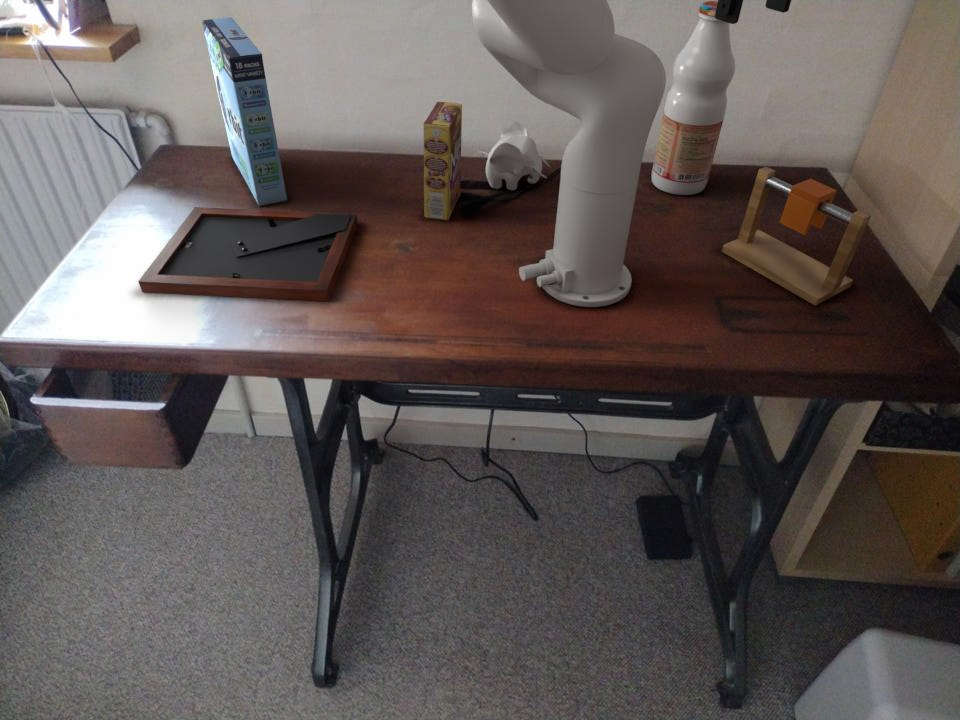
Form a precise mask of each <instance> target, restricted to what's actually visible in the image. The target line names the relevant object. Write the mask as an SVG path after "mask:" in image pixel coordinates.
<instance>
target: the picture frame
mask: <svg viewBox="0 0 960 720" xmlns="http://www.w3.org/2000/svg"><path fill="white" fill-rule="evenodd" d="M358 223H359V222H358V215H357V213H337V212H317V211H315V212H314V211H290V210H270V209H268V210H267V209H247V208H245V209H244V208H227V207H225V208H223V207H204V206H203V207H202V206H201V207H199V206H195V207H193V209H192V210H191V212H190V213H189V214H188V216H187V217H186V218H185V220H184V221H182V223H181V224H180V226H179V227H178V229H177V230H176V231H175V232H174V234H173V235H172V237H171V238H170V239H169V240H168V242H167V243H166V245H165V246H164V247H163V248H162V249H161V251H160V252H159V254H157V256H156V258H154V260H153V261H152V263H151V264H150V265H149V266H148V268H147V269H146V270H145V271H144V273H143V275H142V276H141V277H140V279H138V284H139V287H140V290H141V292H142V293H152V294H153V293H154V294H169V295H170V294H171V295H172V294H174V295H192V296H211V297H212V296H213V297H232V298H233V297H236V298H253V299H254V298H255V299H276V300H278V299H279V300H293V301H295V300H296V301H315V302H316V301H317V302H329V301H330V298H331V295H332V293H333V291H334V288H335V285H336V283H337V280H338V277H339V275H340V272H341V270H342V267H343V264H344V261H345V259H346V256H347V254H348V251H349V249H350V246H351V243H352V240H353V238H354V235H355V233H356V230H357V228H358V225H359V224H358Z"/></svg>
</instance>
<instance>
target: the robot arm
mask: <svg viewBox="0 0 960 720" xmlns="http://www.w3.org/2000/svg"><path fill="white" fill-rule="evenodd" d="M717 1H718V4H717V8H716V12H715V18H716V19H718V20H721V21H724V22H727V23H729V25H730V24H731V25H735V24H737V23H738V22H739V19H740V15H741V12H742V8H743V7H742V6H743V3H744V0H717ZM791 4H792V0H766V1H765V8H766V9H769V10H772V11H776V12H779V13H783V14H784V13H787V12H789V10H790V7H791ZM471 19H472V24H473V27H474V31H475V33H476V35H477V37H478V39H479V41H480V44H481V45H482V46H483V47H484V48H485V50H487V52H488V53H489V54H490V55H491V56H492V57H493V58H494V59H495V60H496V61H497V62H498V63H499V64H500V66H502V67H503V68H504V69H505V70H506V71H507V72H508V73H509V74H510V75H511V76H512V77H513V78H514V79H515V80H516V81H517V83H518V84H520V86H522V87H523V88H524V89H525V90H526V91H527V92H528V93H530V94H531V95H532V96H533V97H535V98H537V99H538V100H539V101H542V102H544V103H545V104H547V105H549V106H552V107H554V108H556V109H558V110H561V111H563V112H565V113H566V114H569V115H570V116H572V117H574V118H576V119H578V120H579V122H580V127H579V130H578V131H577V133H576V134H575V135H574V136H573V138H572V139H571V140H570V141H569V143H568V144H567V146H566V147H565V149H564V152H563V155H562V159H561V166H560V178H559V179H560V180H559V190H558V200H557V209H556V219H555V228H554V237H553V238H554V239H553V245H552V246H553V247H552V248H551V249H547V250H545V257H544V258H543V259H542V258H541V259H540V260H539V262H538V263H532V264H531V263H530V264H526V265H523V266H520V267H519V268H518V274H519V278H520V279H521V281H523V282H525V281H529V280H534V279H536V284H537V286H538V287H539V288H541V287H542V289H543V290H544V291H545V292H546V294H548V295H549V296H551V297H553V298H554V299H555V300H557V301H560V302H562V303H564V304H568V305H571V306H576V307H581V308H582V307H583V308H599V307H606V306H610V305H613V304H616V303H618V302H620V301H621V300H623V299H624V298H625V297H626V296H627V295H629V293H630V290H631V287H632V282H633V278H632V274H631V272H630V270H629V269H628V267H627V266H626V265H625V264H624V261H625V256H626V250H627V245H628V239H629V235H630V229H631V223H632V218H633V212H634V206H635V201H636V195H637V190H638V186H639V179H640V173H641V167H642V163H643V158H644V154H645V149H646V145H647V141H648V138H649V135H650V132H651V129H652V126H653V124H654V121H655V118H656V116H657V113H658V111H659V108H660V105H661V102H662V101H663V97H664V94H665V89H666V83H667V74H666V69H665V66H664V64H663V62H662V60H661V58H660V57H659V56H658V54H657V53H656V52H655V51H654V50H652V49H651V48H650V47H648V46H647V45H645V44H643V43H641V42H639V41H637V40H635V39H632V38H630V37H626V36H623V35H622V34H621V35H620V34H618V33H616V31H615V29H616V28H615V20H614V16H613V11H612V10H611V7H610V5H609V1H608V0H471Z"/></svg>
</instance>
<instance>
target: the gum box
mask: <svg viewBox="0 0 960 720" xmlns="http://www.w3.org/2000/svg"><path fill="white" fill-rule="evenodd" d="M201 23H202V28H203V32H204V38H205V41H206V47H207V51H208V55H209V59H210V64H211V68H212V73H213V78H214V82H215V87H216V91H217V95H218V100H219V104H220V109H221V113H222V118H223V123H224V127H225V131H226V136H227V140H228V144H229V149H230V153H231V154H230V155H231V157H232V159H233V161H234V164H235V165H236V167H237V169H238V171H239V172H240V174H241V175H242V178H243V180H244V181H245V183H246V184H247V187H248V188H249V190H250V192H251V194H252V196H253V198H254V199H255V202H256V203H257V206H259V207H263V206H268V205H273V204H278V203H282V202H287V201H288V197H287V191H286V186H285V180H284V174H283V168H282V163H281V157H280V152H279V146H278V140H277V134H276V128H275V123H274V118H273V111H272V106H271V100H270V95H269V89H268V83H267V77H266V70H265V66H264V59H263V53H262V52H261V51H260V49H259V48H258V47H257V46H256V45H255V44H254V42H253V41H252V40H251V38H249V36H248V35H247V34H246V33H245V32H244V30H243V29H242V28H241V27H240V26H239V24H238V23H237V22H236V20H234V19H233V17H231V16H229V17H218V18H211V19H203V20H201Z"/></svg>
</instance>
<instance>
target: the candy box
mask: <svg viewBox="0 0 960 720" xmlns="http://www.w3.org/2000/svg"><path fill="white" fill-rule="evenodd" d="M462 125H463V104H462V103H458V102H452V101H451V102H450V101H436V103H435V104H434V106H433V108H432V110H431V111H430V113H429V115H428V116H427V117H426V120H425V121H424V122H423V201H424V202H423V203H424V204H423V206H424V207H423V209H424V211H423V212H424V213H423V214H424V215H423V216H424V218H426V219H433V220H441V221H449V220H450V217H451V215H452V213H453V211H454V209H455V206H456V205H457V203H458V200H459V198H460V196H461V176H462V133H463V132H462V129H463V127H462Z"/></svg>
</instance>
